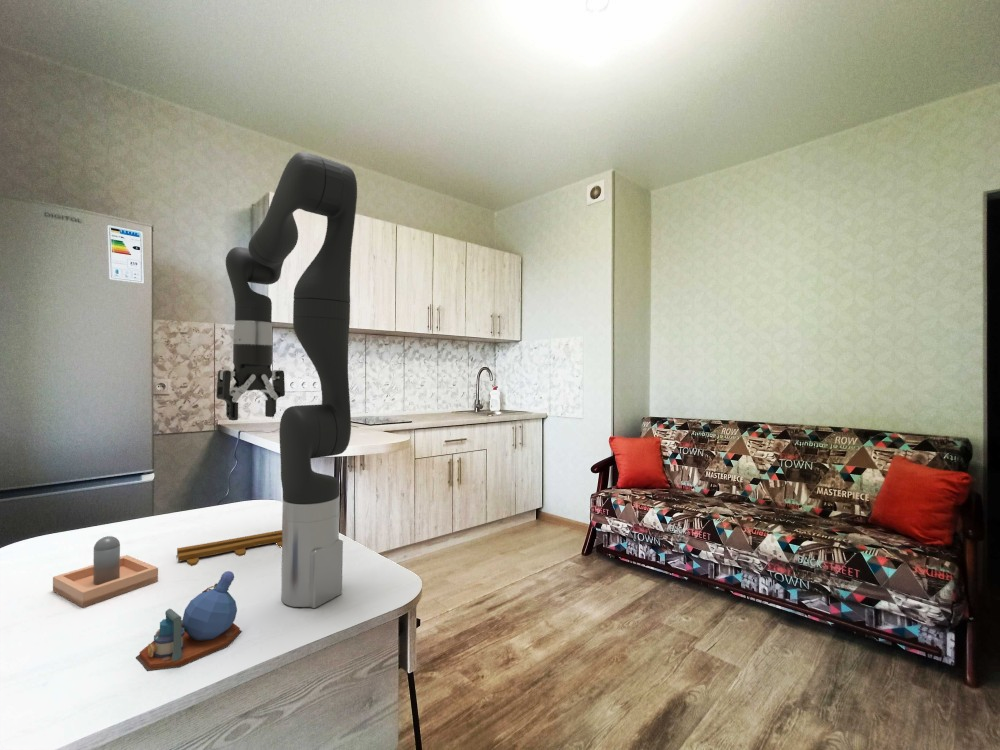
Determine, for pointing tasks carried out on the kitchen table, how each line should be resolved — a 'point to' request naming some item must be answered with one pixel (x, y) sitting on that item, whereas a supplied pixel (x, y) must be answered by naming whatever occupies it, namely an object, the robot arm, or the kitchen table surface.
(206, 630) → the model
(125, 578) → the dish
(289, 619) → the kitchen table surface
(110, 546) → the plug
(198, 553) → the decorative fence
